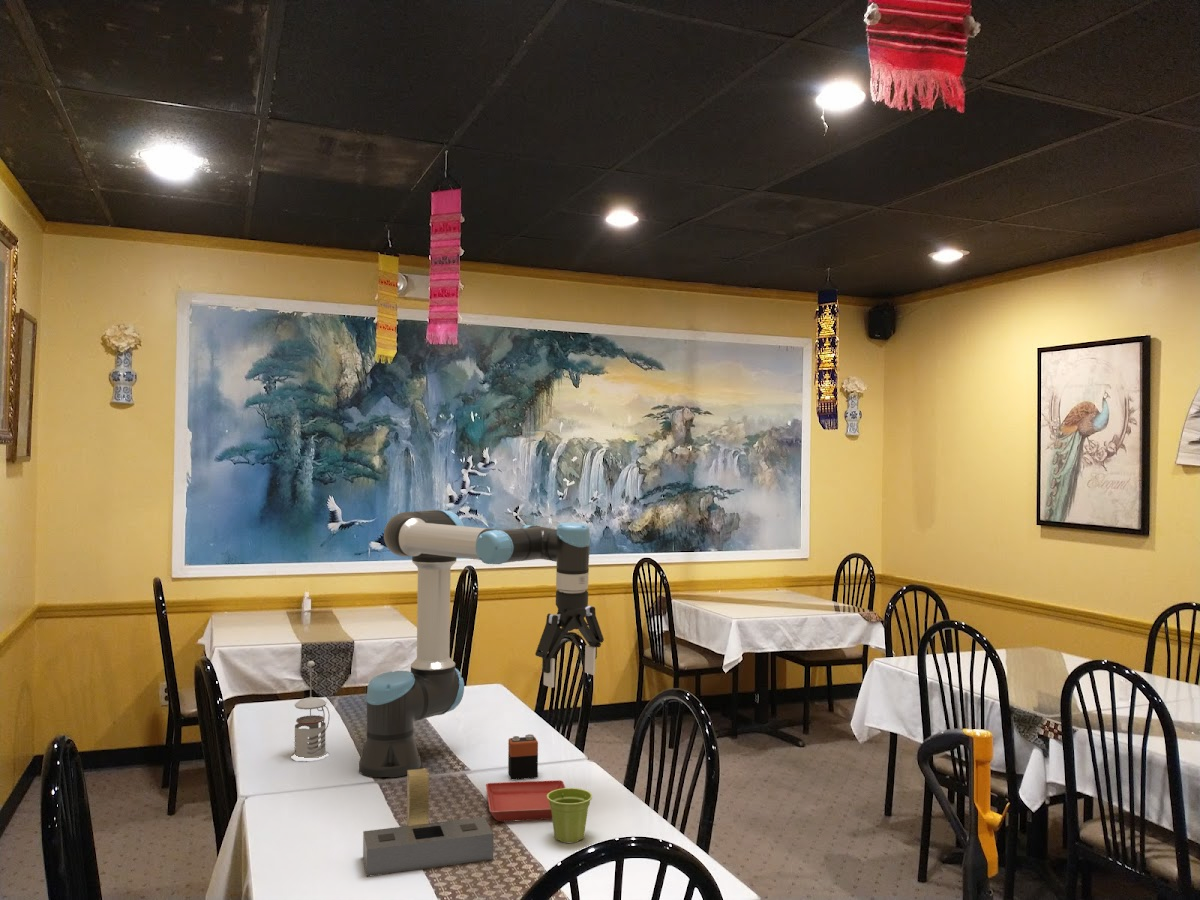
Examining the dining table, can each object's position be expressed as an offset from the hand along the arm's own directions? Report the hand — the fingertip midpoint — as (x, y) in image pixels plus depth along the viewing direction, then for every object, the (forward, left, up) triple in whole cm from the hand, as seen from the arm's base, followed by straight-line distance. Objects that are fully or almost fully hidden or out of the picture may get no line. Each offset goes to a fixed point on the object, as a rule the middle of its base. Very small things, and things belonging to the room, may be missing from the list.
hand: (569, 679), depth 214 cm
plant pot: (+13, -20, -27) cm, 36 cm away
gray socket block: (-5, -43, -27) cm, 51 cm away
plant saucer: (-4, -11, -28) cm, 30 cm away
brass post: (-16, -33, -27) cm, 46 cm away
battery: (-17, +5, -27) cm, 32 cm away
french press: (-74, -11, -27) cm, 79 cm away
